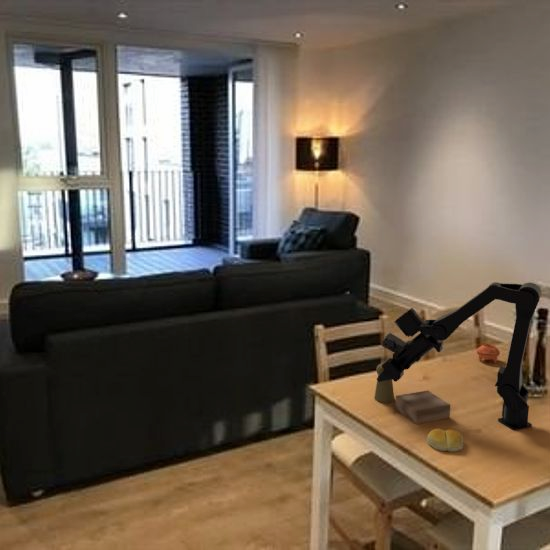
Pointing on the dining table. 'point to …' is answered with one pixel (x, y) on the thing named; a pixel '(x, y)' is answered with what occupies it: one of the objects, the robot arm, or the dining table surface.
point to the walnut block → (422, 407)
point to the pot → (488, 352)
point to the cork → (383, 388)
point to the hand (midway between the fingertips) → (380, 377)
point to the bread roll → (445, 440)
